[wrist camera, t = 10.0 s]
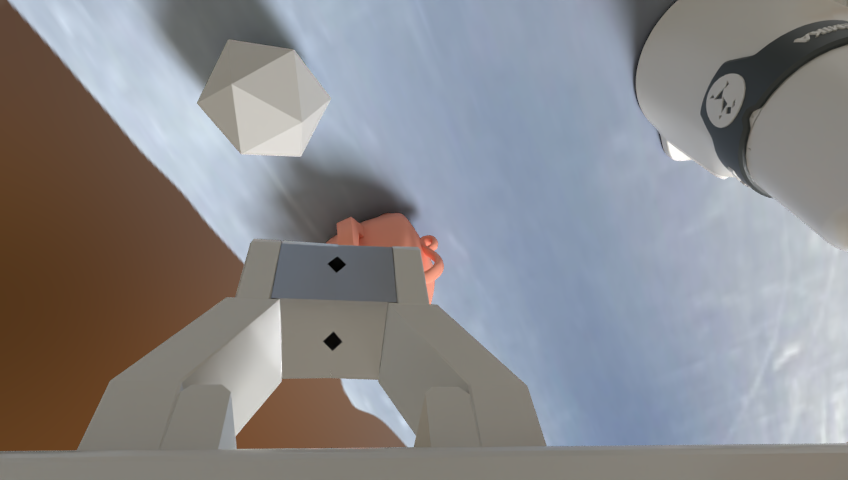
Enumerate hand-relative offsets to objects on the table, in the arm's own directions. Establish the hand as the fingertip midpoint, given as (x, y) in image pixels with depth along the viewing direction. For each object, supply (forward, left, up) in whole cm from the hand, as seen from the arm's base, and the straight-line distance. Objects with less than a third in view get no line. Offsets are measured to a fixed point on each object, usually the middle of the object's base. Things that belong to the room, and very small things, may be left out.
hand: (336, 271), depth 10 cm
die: (+6, +10, -37) cm, 39 cm away
